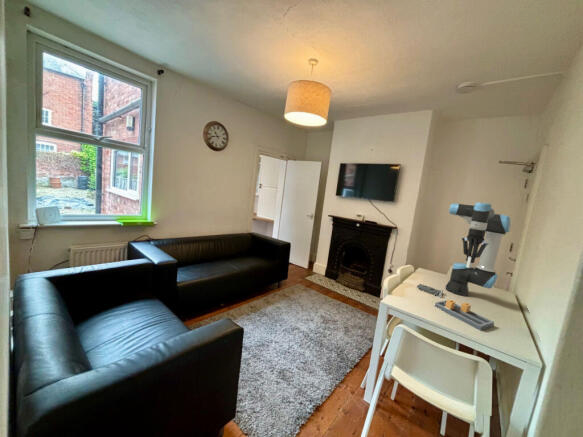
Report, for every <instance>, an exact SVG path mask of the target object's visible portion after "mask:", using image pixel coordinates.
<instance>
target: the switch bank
mask: <svg viewBox="0 0 583 437" xmlns="http://www.w3.org/2000/svg"><path fill="white" fill-rule="evenodd" d="M447 300H448V299H447ZM447 300H441V301H436V302H435V304H434V307H435V308H436V307H437V308H436V309H438V308H439V310H440V309H441V310H440V311H442V312H444V313H446V314H447V315H449V316H452V317H454V318H456V319H457V320H459V321H462V322H463V323H465V324H467V325H469V326H471V327H473V328H475V329H477V330H478V331H483V330H486V329H491V328H493V327H494V324H495V321H493V320H491V319H489V318H486V317H484V316H482V315H480V314H478V313H476V312H474V311H473V310H470V312H467V313H465V312H463V311H461V310H460V309H461V305H459V304H457V303H455V307H454V309H451V310H450V309H449V308H447V307H445V305H446V301H447Z"/></svg>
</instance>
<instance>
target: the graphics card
mask: <svg viewBox="0 0 583 437" xmlns="http://www.w3.org/2000/svg"><path fill="white" fill-rule="evenodd" d="M416 288H418V289H419V290H420V291H423V292H425V293H427V294H428V293H429V294H431V295H433V296H435V295H436V296H435V297H437V296H438V297H437V298H441V297H442V296H443V295H444V289H442V290H440V289H436V288H433V287H431V286H428V285H425V284H422V283H419V284H417V285H416Z"/></svg>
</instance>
